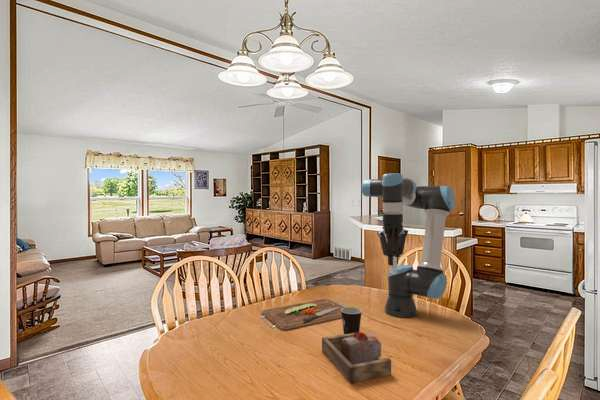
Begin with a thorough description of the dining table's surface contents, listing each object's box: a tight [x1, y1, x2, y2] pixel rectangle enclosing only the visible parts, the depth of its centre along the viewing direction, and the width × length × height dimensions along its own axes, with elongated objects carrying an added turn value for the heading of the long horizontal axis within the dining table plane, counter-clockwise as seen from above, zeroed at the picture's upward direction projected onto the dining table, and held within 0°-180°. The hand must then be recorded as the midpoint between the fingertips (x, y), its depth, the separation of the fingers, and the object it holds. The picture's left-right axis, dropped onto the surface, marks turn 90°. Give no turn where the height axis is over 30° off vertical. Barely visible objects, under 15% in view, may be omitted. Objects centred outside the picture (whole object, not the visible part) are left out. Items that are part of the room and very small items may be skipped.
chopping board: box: [259, 298, 348, 332], centre depth 167 cm, size 45×27×3 cm, turn 118°
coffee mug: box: [341, 306, 363, 335], centre depth 145 cm, size 12×9×10 cm
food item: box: [340, 331, 382, 365], centre depth 121 cm, size 14×8×10 cm, turn 116°
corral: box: [321, 333, 392, 384], centre depth 120 cm, size 15×23×5 cm, turn 19°
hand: (393, 273), depth 132 cm, fingers closed
